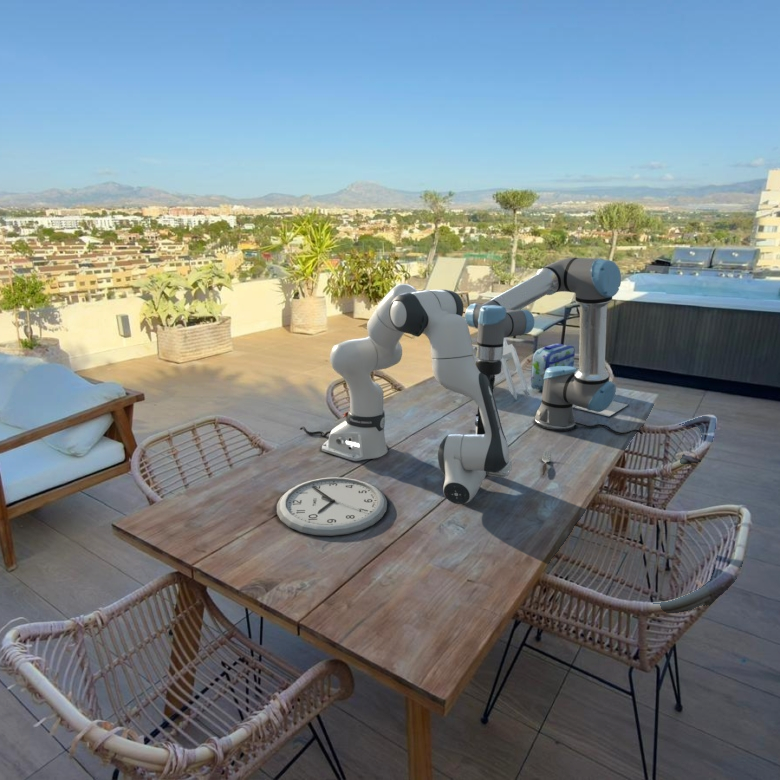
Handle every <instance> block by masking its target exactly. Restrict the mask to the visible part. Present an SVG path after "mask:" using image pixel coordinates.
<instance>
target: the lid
mask: <svg viewBox="0 0 780 780" xmlns="http://www.w3.org/2000/svg"><path fill="white" fill-rule="evenodd" d="M474 425H475V427H476V426H477V427H478V416H476V418H475V420H474Z"/></svg>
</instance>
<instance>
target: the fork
mask: <svg viewBox="0 0 780 780" xmlns="http://www.w3.org/2000/svg"><path fill="white" fill-rule="evenodd" d="M547 453H549V454H547ZM547 453H545V452H542V458H541V461H542V462H543V465H542V476H544V475H545V472H546V471H547V463H550V462H551V455H552V454H551V453H552V452H551V451H550V452H549V451H548V452H547Z"/></svg>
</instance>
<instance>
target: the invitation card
mask: <svg viewBox="0 0 780 780" xmlns="http://www.w3.org/2000/svg"><path fill="white" fill-rule="evenodd" d="M628 406H629V404H627V403H623V402H618V401H614V400H612V402H611V404H610V405H609V406H608V407H607V408H606V409H605V410H604V411H601V412H596V411H592V410H588V409H585V408H582V407H579V406H576V405H575V406H574V407H573V409H575V410H581V411H584V412H587V413H593V414H596V415H600V416H604V417H608V418H609V417H611V416H613V415H614V414H616V413H617V412H619V411H621V410H623V409H624V408H626V407H628Z"/></svg>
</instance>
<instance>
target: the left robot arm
mask: <svg viewBox="0 0 780 780" xmlns="http://www.w3.org/2000/svg"><path fill="white" fill-rule="evenodd" d="M464 309H465V308H464V303H463V299H462V297H461V296H460V295H459V294H458V293H457V292H455V291H453V290H449V289H425V290H417V289H416V288H415V287H414V286H412V285H410V284H408V283H399V284H396V285H394V287H393V288H392V289H390V290H389V291H388V292H387V294H385V296H384V297H383V298H382V299H381V301H379V304H377V307H376V308H375V310H374V312H372V315H371V316H370V317H369V319H368V321H367V323H366V331H367V335H368V336H366V337H361V338H354V339H348V340H345V341H341V342H339V343H337V344H335V345H333V347H332V348H331V350H330V354H329V362H330V365H331V367H332V369H333V370H334V372H335V373H336V374H338V375H340V376H341V377H342V378H343V379H344V381H345V383H346V385H347V387H348V393H349V409H348V410H346V411H345V413H343V414H342V415H343V416H342V418H345V419H344V420H343V421H341V422H340V423H339V424H337V425H336V426H335V427H333V428H332V429H330V430H327V431H325V433H324V432H323V431H320V430H318V431H317V430H316V431H308V429H307V428H306V427H305V426H301V427H299V430H301V431H304V433H306V434H308V435H318V434H319V435H321V436H322V437H327V435H328V439H327V440H325V442H323V443H322V445H321V451H322V452H324V453H327V454H330V455H334V456H336V457H340V458H343V459H346V460H349V461H352V462H360V461H363V460H371V459H378V458H381V457H383V456H385V455H386V454H388V451H389V449H388V445H387V443H386V442H387V441H386V437H385V423H386V418H385V417H386V415H385V413H386V412H385V410H384V395H385V394H384V389H383V388H382V385H380V384H379V383H377V382H375V381H373V380H372V372H376V371H381V370H386V369H389V368H391V367H393V366H396V365H397V364H399V363H400V361H401V360H402V357H403V346H402V344H401V343H400V340H401V339H402V337H403V336H404V335H405V334H410V335H412V336H414V337H416V338H417V337H420V336H421V335H425V337H426V338H427V339H428V341H429V346H430V358H431V359H430V360H431V368H432V373H433V377H434V379H435V380H436V381H437V383H439V384H440V385H441V386H442V387H443V388H445V389H447V390H449V391H451V392H454V393H457V394H461V395H463V396H466V397H467V398H469V399H471V400H472V401H473V402H474V403H475V404H476V405H477V408H478V407H479V411H480V414H481V418H482V422H483V426H484V430H485V434H476V433H474V434H473V433H472V434H471V433H470V434H467V433H451V434H450V433H448V434H447V435H446V436H444V438H443V439H442V441H441V442H440V444H439V447H438V450H437V462H438V465H439V467H440V468H439V469H440V470H441V472H442V475H444V481H443V482H444V483H443V487H442V490H443V496H444V497H445V499H447V500H448V501H449V502H451V503H452V504H456V505H466V504H467V503H469V502H471V501H472V500H473V498H474V497H476V495H477V493H478V491H479V489H480V488H481V485H483V482H484V480H485V479H486V477H487V476H489V477H494V478H505V477H507V476H509V474H510V472H511V471H512V465H513V460H512V458H510V448H509V445H508V441H507V439H506V436H505V432H504V430H503V426H502V423H501V418H500V415H499V410H498V407H497V402H496V399H495V396H494V391H493V392H492V388H491V385H490V382H489V380H488V378H487V376H486V375H484V374H482V373H481V372H480V371H479V370H478V368H477V366H476V364H475V362H474V357H473V348H472V347H473V342H472V337H471V332H470V328H469V325H468V324H467V322H466V320H465V317H464V316H463V315H464Z"/></svg>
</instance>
